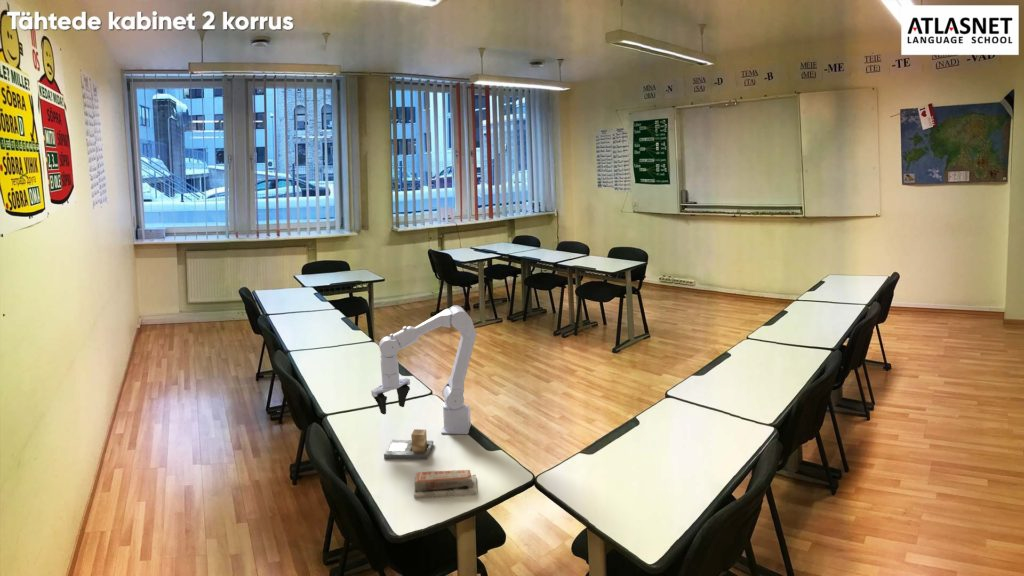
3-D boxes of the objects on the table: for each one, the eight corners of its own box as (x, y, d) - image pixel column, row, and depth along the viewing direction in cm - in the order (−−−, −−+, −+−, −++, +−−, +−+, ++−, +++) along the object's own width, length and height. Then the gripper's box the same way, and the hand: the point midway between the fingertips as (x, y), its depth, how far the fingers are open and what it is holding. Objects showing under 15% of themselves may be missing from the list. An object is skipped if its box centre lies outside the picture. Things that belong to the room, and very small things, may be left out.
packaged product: (412, 484, 167) (415, 467, 177) (413, 500, 168) (416, 481, 178) (476, 481, 169) (475, 463, 178) (477, 496, 170) (476, 478, 179)
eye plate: (433, 444, 200) (433, 440, 199) (427, 459, 190) (426, 455, 189) (392, 443, 201) (392, 439, 200) (384, 458, 191) (383, 454, 191)
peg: (427, 449, 197) (426, 429, 195) (424, 455, 193) (423, 435, 191) (415, 448, 197) (414, 429, 196) (412, 454, 193) (411, 434, 192)
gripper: (400, 363, 208) (402, 400, 211) (365, 375, 198) (367, 413, 201) (412, 368, 203) (415, 405, 206) (377, 380, 193) (380, 419, 196)
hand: (392, 409), depth 203 cm, fingers open, 7 cm apart
